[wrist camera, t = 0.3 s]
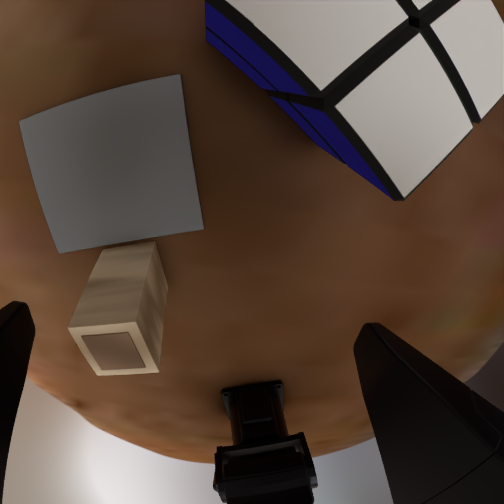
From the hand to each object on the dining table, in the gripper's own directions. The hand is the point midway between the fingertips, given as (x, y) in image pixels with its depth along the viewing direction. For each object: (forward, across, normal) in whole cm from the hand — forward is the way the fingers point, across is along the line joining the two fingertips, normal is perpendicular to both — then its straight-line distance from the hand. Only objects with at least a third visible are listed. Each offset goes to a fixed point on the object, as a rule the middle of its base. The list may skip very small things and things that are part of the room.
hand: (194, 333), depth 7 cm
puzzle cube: (+14, -6, -10) cm, 18 cm away
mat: (+14, +6, 0) cm, 15 cm away
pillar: (+14, +4, +7) cm, 16 cm away
